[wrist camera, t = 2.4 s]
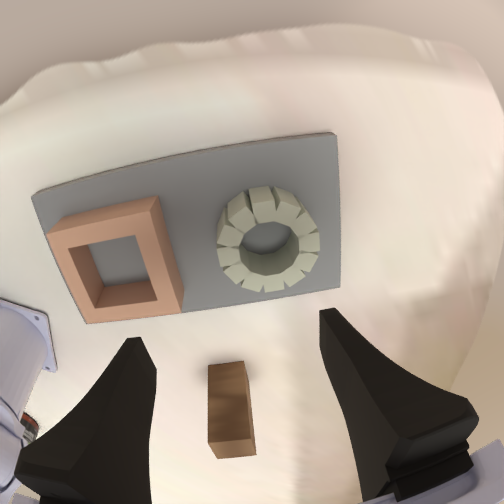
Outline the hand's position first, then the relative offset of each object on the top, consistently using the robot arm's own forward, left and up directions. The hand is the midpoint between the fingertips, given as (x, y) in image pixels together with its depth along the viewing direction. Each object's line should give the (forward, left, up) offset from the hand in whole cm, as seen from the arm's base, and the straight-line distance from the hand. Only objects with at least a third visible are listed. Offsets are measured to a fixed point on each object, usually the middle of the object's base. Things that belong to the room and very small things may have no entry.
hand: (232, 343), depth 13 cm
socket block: (-2, -1, -10) cm, 11 cm away
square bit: (+4, -14, -10) cm, 18 cm away
